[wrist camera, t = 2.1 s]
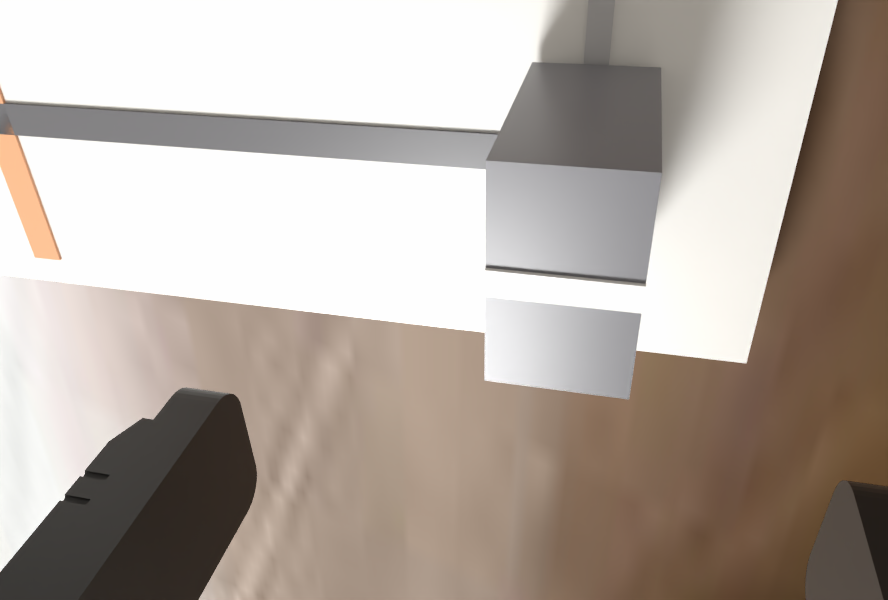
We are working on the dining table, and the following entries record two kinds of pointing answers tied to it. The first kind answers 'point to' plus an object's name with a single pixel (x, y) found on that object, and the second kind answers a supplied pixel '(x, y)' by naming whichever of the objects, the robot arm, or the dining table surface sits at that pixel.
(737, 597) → the dining table surface
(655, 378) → the dining table surface
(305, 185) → the console
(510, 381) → the block
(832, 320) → the dining table surface
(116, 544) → the robot arm
